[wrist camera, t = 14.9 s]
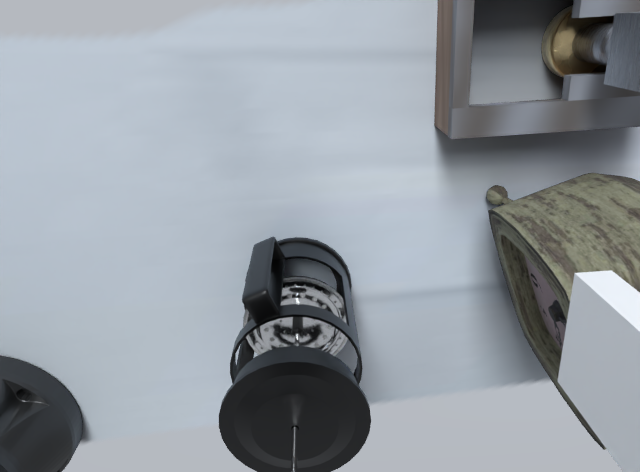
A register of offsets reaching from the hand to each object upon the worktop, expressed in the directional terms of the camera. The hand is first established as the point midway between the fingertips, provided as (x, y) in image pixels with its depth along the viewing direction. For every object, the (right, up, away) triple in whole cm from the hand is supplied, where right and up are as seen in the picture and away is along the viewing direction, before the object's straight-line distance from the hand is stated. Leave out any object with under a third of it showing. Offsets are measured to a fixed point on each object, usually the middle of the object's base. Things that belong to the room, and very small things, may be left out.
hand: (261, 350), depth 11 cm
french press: (-1, -1, +35) cm, 35 cm away
